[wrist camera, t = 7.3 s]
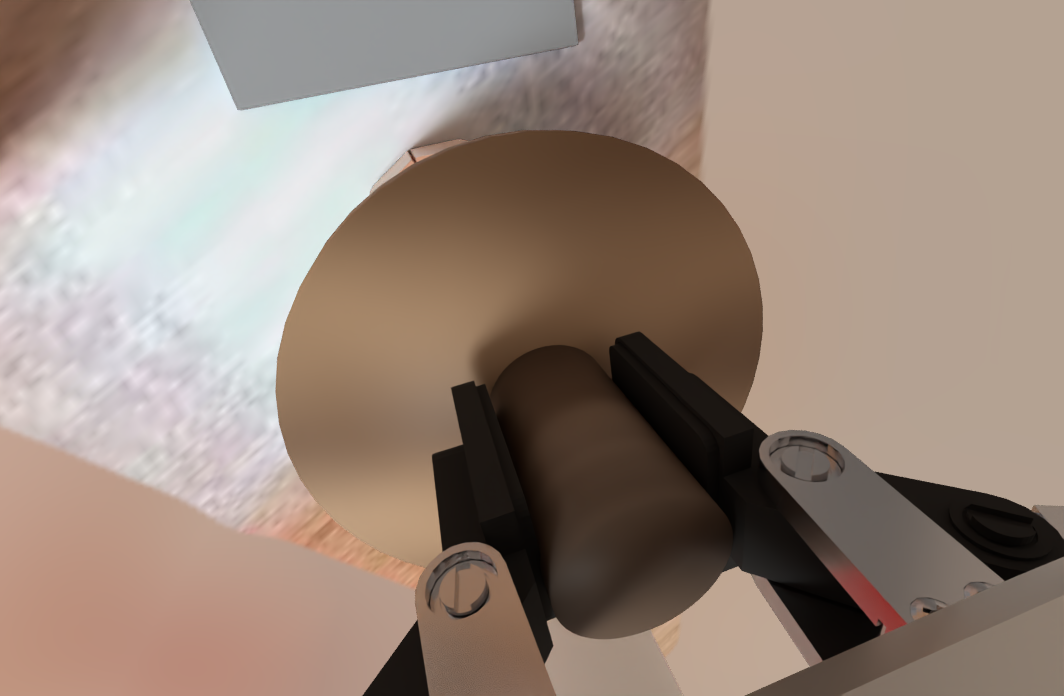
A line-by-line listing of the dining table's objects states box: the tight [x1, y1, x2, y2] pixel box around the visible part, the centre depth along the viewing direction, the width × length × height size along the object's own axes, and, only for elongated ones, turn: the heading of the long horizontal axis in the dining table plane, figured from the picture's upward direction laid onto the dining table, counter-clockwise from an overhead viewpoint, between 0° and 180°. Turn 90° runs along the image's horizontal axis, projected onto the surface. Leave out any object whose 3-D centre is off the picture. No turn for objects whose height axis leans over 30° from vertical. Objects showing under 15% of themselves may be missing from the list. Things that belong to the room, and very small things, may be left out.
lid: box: [276, 130, 763, 639], centre depth 10 cm, size 12×12×6 cm
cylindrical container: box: [545, 618, 684, 696], centre depth 21 cm, size 7×7×25 cm
